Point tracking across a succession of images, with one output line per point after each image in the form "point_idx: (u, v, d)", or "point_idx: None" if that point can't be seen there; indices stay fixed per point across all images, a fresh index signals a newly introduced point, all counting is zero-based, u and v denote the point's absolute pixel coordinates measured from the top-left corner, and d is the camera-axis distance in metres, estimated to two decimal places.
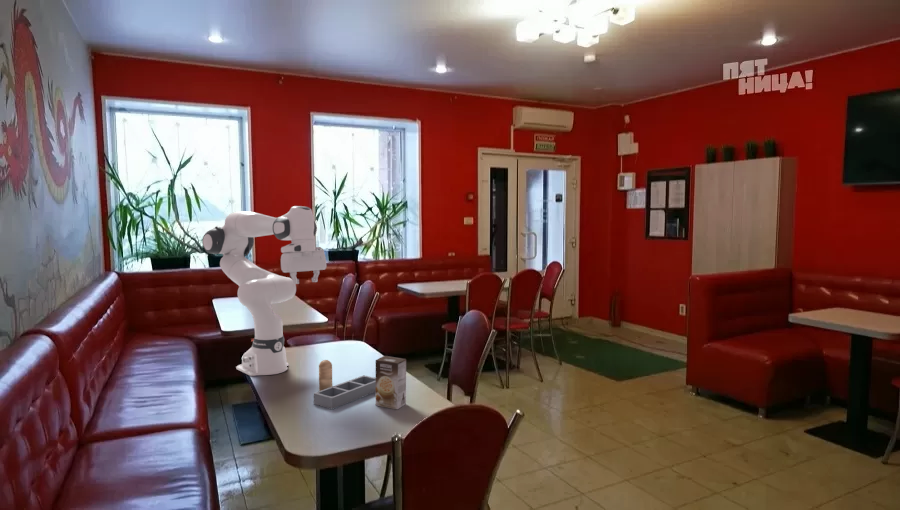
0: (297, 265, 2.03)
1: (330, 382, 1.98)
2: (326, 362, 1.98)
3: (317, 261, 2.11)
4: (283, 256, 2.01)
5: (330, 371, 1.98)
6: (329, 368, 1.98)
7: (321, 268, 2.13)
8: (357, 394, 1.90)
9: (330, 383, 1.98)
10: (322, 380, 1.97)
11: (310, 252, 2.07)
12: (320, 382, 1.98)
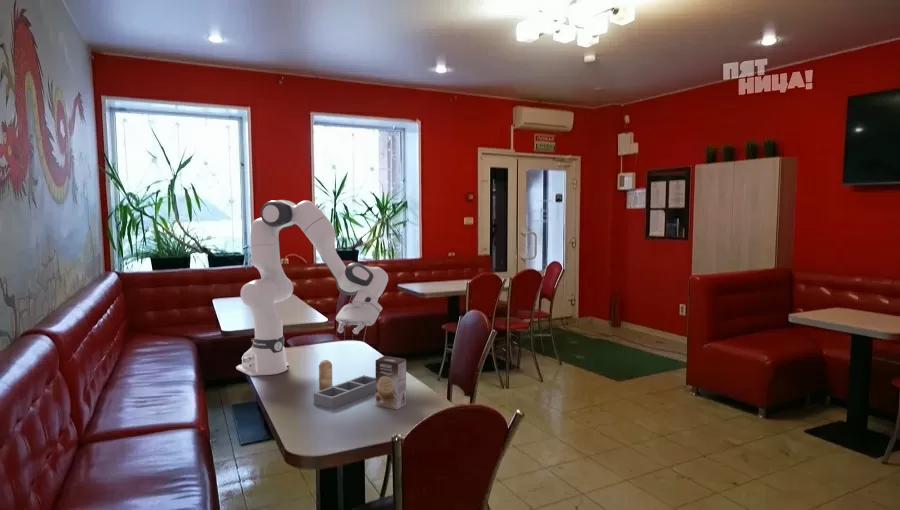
0: None
1: (330, 382, 1.98)
2: (326, 362, 1.98)
3: None
4: (374, 309, 2.06)
5: (330, 371, 1.98)
6: (329, 368, 1.98)
7: None
8: (357, 394, 1.90)
9: (330, 383, 1.98)
10: (322, 380, 1.97)
11: None
12: (320, 382, 1.98)
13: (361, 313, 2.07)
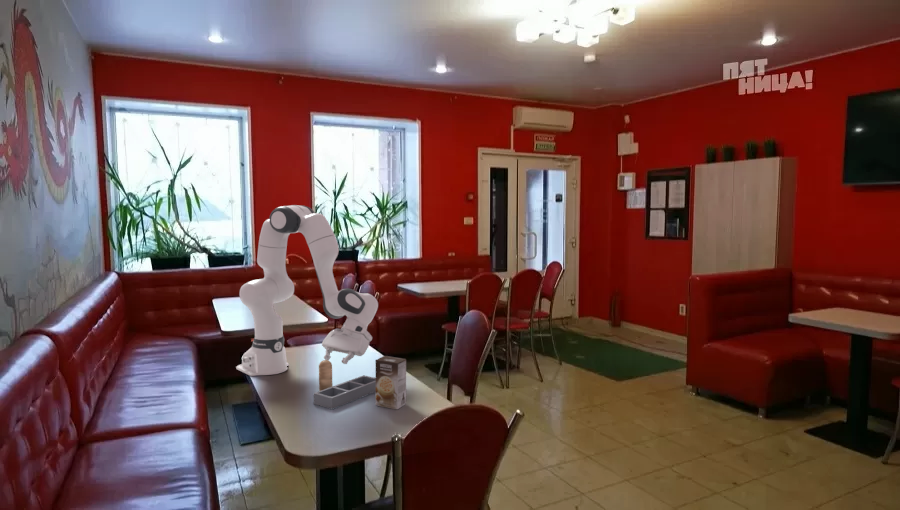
0: None
1: (330, 382, 1.98)
2: (326, 362, 1.98)
3: None
4: (365, 339, 2.03)
5: (330, 371, 1.98)
6: (329, 368, 1.98)
7: None
8: (357, 394, 1.90)
9: (330, 383, 1.98)
10: (322, 380, 1.97)
11: None
12: (320, 382, 1.98)
13: (351, 342, 2.03)
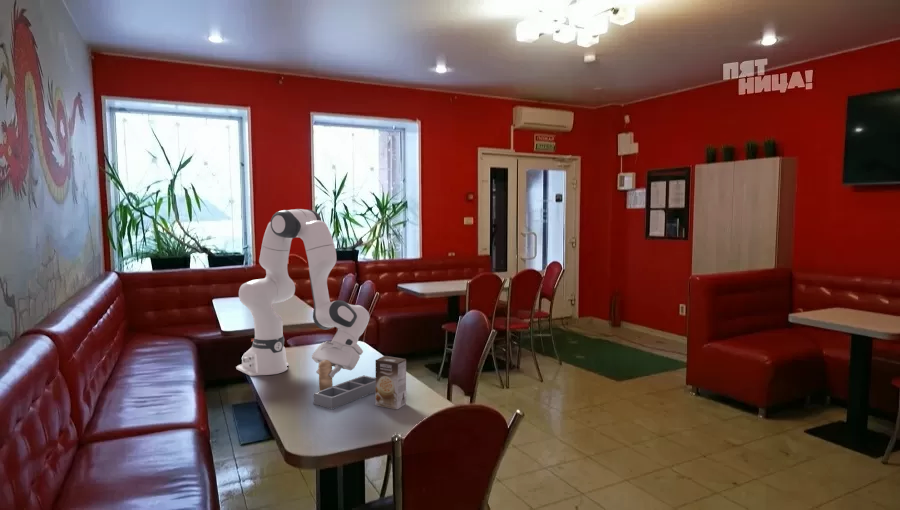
0: None
1: (330, 382, 1.98)
2: (326, 362, 1.98)
3: None
4: (355, 353, 1.99)
5: None
6: (329, 368, 1.98)
7: None
8: (357, 394, 1.90)
9: (330, 383, 1.98)
10: (322, 380, 1.97)
11: None
12: (320, 382, 1.98)
13: (341, 356, 1.99)
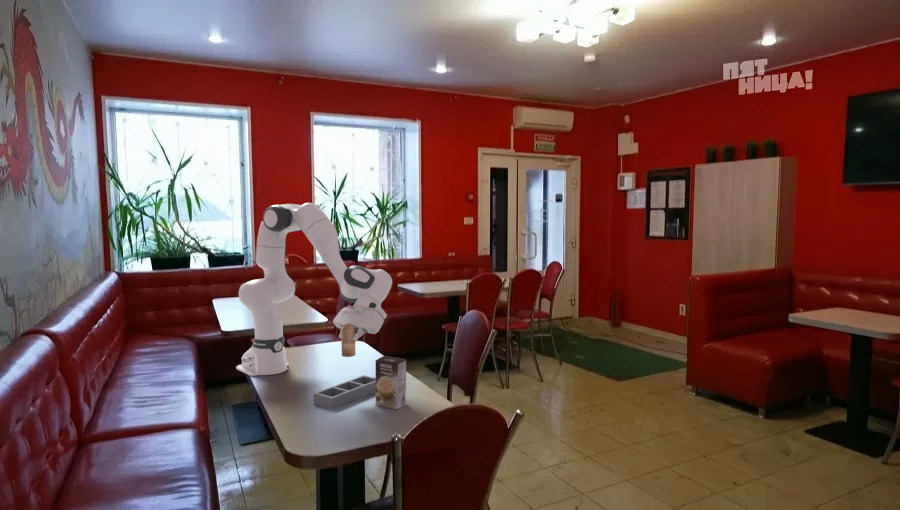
0: None
1: (353, 346, 1.91)
2: (349, 325, 1.90)
3: None
4: (379, 316, 1.91)
5: None
6: (352, 332, 1.90)
7: None
8: (357, 394, 1.90)
9: (353, 347, 1.91)
10: (345, 344, 1.89)
11: None
12: (343, 346, 1.90)
13: (365, 319, 1.91)
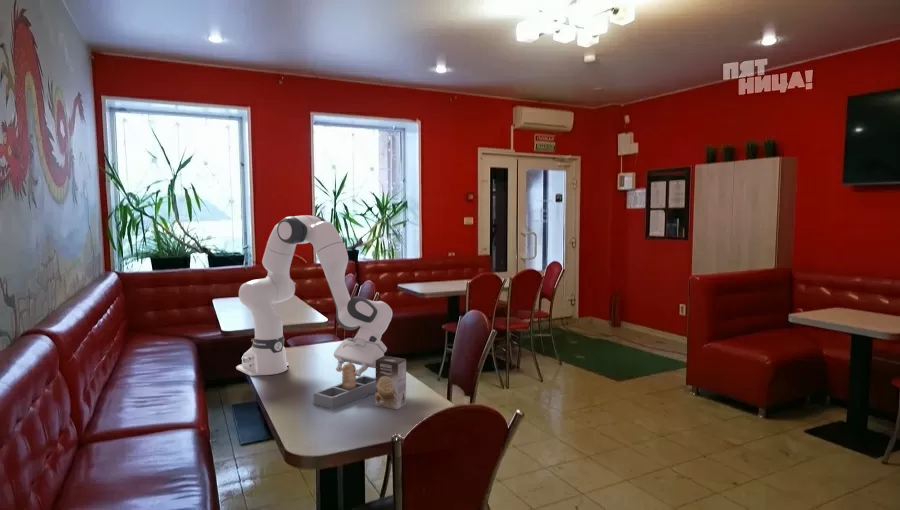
0: None
1: (354, 386, 1.92)
2: (350, 365, 1.91)
3: None
4: (379, 350, 1.92)
5: (354, 374, 1.91)
6: (353, 371, 1.91)
7: None
8: (357, 394, 1.90)
9: (354, 387, 1.92)
10: (346, 384, 1.90)
11: None
12: (343, 386, 1.91)
13: (365, 353, 1.92)
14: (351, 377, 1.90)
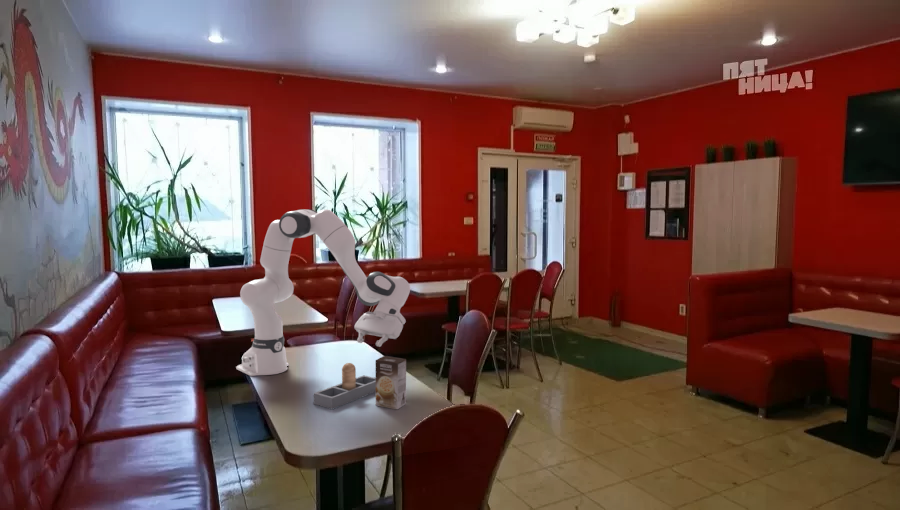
0: None
1: (354, 386, 1.92)
2: (349, 365, 1.91)
3: None
4: (399, 322, 2.00)
5: (354, 374, 1.91)
6: (353, 371, 1.91)
7: None
8: (357, 394, 1.90)
9: (354, 387, 1.92)
10: (346, 384, 1.90)
11: None
12: (343, 386, 1.91)
13: (385, 325, 2.01)
14: (351, 377, 1.90)
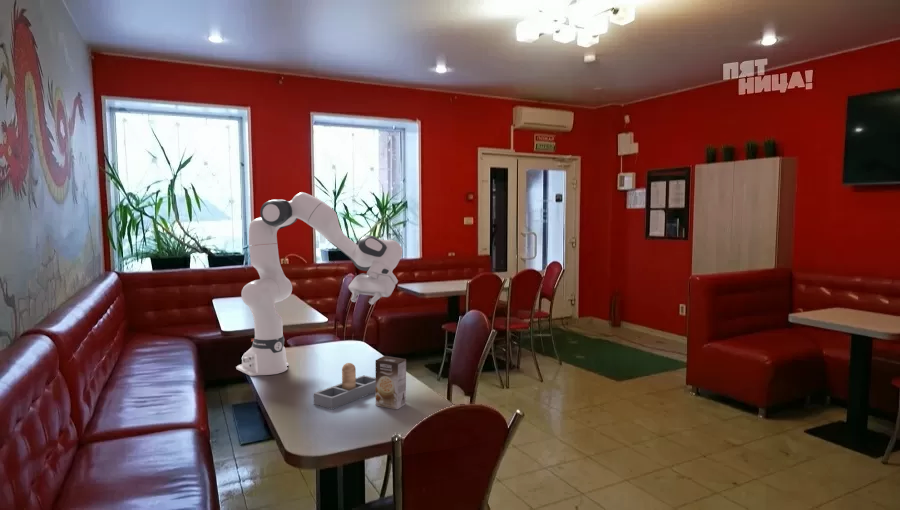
0: None
1: (354, 386, 1.92)
2: (349, 365, 1.91)
3: None
4: (391, 281, 2.08)
5: (354, 374, 1.91)
6: (353, 371, 1.91)
7: None
8: (357, 394, 1.90)
9: (354, 387, 1.92)
10: (346, 384, 1.90)
11: None
12: (343, 386, 1.91)
13: (378, 284, 2.08)
14: (351, 377, 1.90)
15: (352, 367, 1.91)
